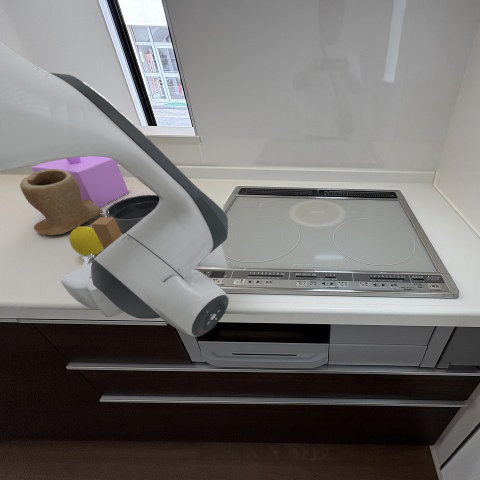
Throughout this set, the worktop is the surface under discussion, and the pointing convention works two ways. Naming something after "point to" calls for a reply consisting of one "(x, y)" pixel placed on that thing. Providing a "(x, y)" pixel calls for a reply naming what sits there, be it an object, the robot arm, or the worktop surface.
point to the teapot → (92, 177)
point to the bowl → (132, 210)
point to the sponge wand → (106, 230)
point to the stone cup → (57, 201)
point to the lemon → (85, 241)
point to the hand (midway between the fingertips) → (115, 246)
